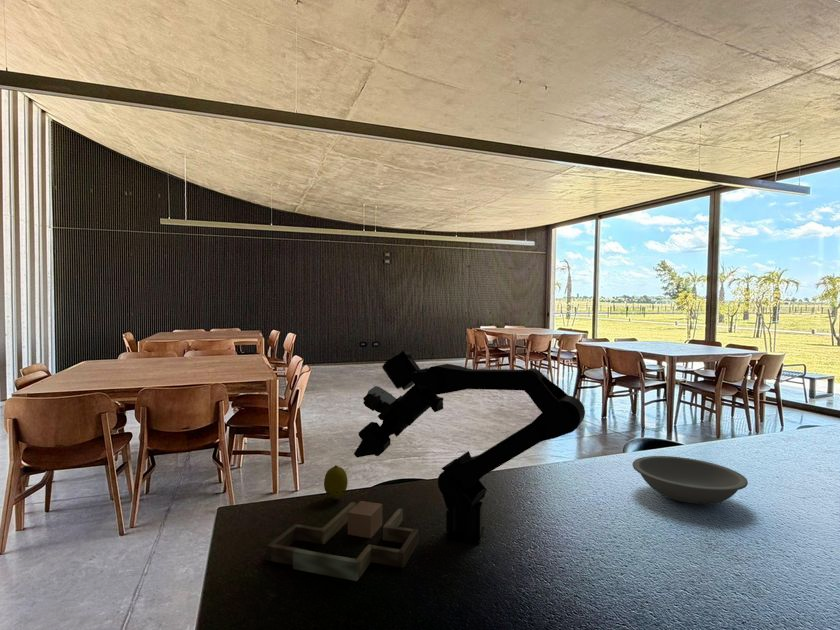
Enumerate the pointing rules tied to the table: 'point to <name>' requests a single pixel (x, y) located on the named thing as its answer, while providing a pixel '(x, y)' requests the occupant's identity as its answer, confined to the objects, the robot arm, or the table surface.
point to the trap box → (339, 564)
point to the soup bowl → (689, 479)
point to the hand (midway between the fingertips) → (365, 446)
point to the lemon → (335, 481)
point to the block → (365, 519)
